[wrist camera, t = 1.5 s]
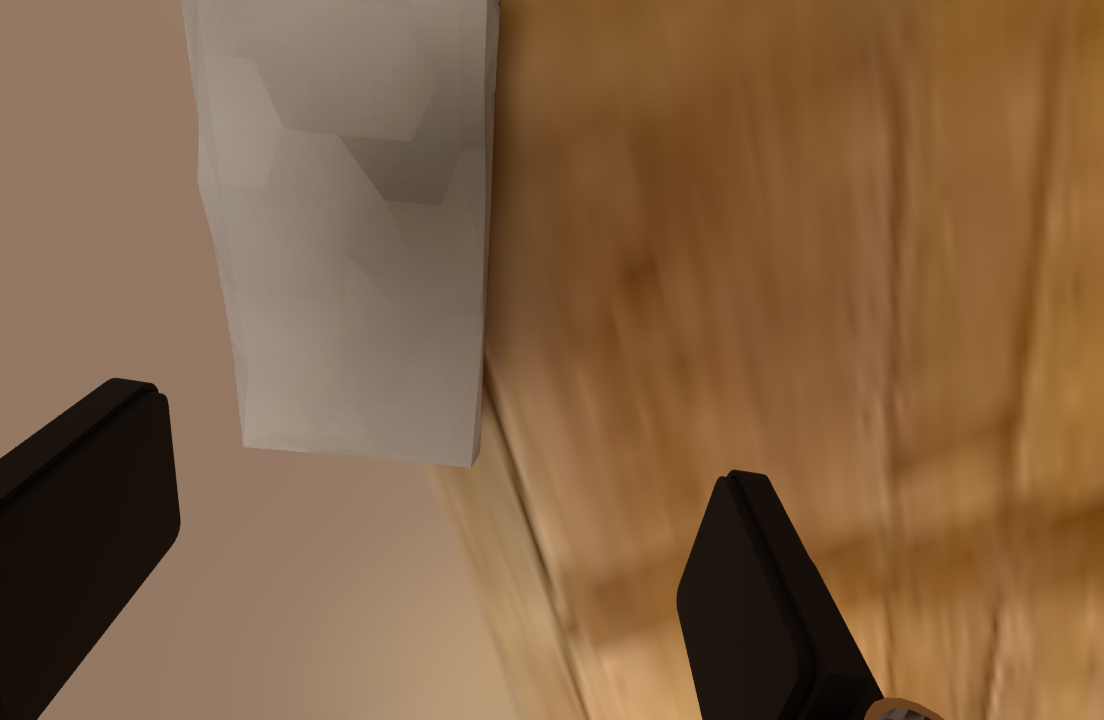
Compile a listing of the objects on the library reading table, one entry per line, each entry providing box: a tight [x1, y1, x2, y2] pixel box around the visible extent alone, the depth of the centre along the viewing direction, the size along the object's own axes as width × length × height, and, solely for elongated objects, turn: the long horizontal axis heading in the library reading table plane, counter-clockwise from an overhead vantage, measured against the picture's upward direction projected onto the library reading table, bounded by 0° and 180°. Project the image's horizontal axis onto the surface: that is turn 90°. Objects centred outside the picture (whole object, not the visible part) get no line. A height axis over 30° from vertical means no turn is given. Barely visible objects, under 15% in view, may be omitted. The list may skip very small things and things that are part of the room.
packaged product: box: [181, 0, 500, 468], centre depth 24 cm, size 18×5×10 cm
